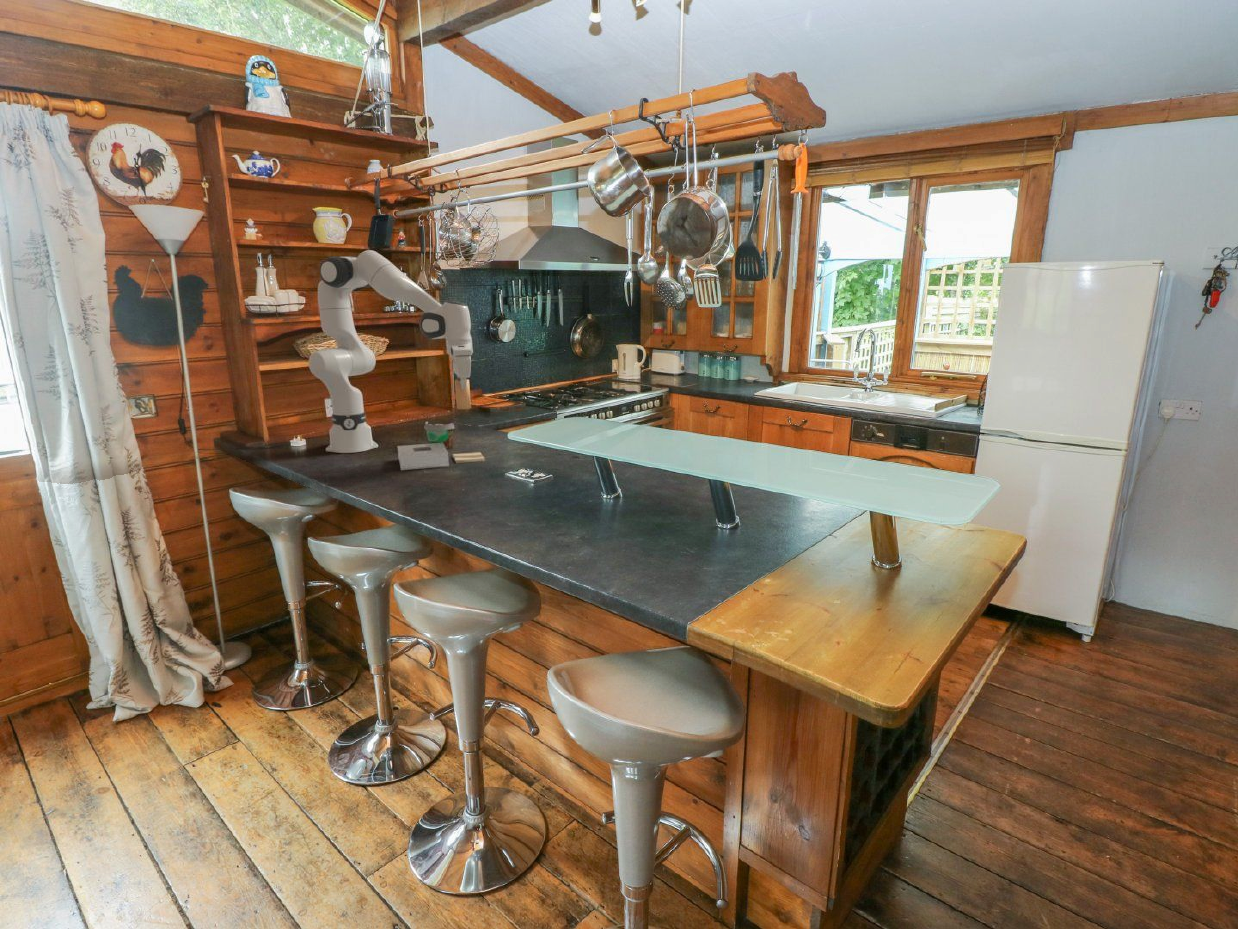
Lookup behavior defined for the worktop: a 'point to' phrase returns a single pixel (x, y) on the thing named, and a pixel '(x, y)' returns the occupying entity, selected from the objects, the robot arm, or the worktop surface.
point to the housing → (422, 456)
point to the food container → (440, 434)
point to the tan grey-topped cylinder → (462, 395)
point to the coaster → (468, 457)
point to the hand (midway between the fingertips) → (462, 388)
